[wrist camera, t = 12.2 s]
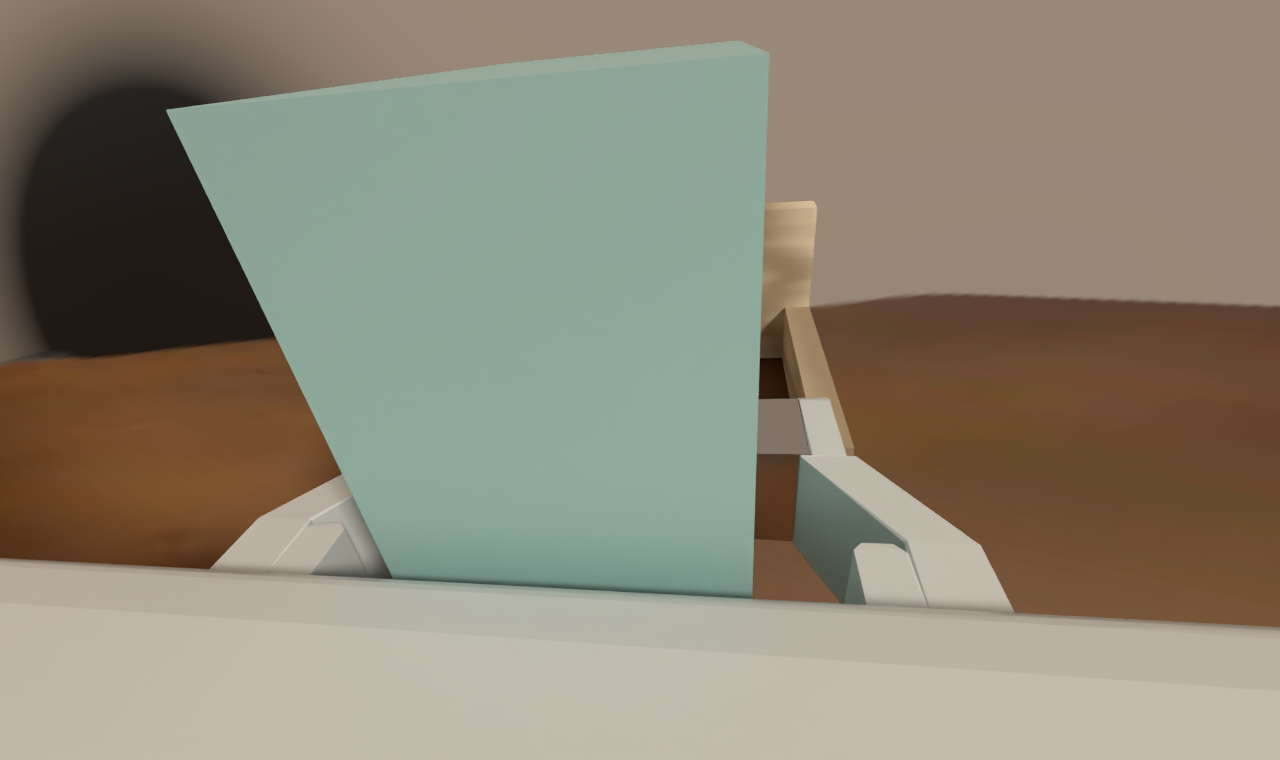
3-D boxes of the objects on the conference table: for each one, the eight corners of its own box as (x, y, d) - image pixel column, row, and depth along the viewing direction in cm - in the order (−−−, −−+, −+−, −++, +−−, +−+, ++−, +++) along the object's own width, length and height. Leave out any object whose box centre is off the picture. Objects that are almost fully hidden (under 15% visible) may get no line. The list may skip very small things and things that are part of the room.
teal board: (539, 881, 11) (165, 110, 4) (603, 586, 17) (506, 64, 10) (742, 909, 10) (770, 52, 3) (735, 593, 16) (738, 41, 9)
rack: (390, 499, 23) (314, 325, 19) (495, 351, 33) (461, 220, 29) (844, 512, 20) (874, 312, 16) (802, 347, 31) (813, 200, 26)
